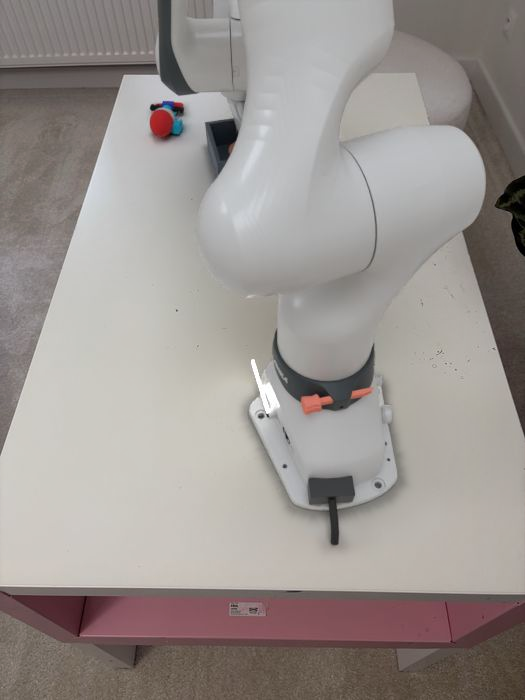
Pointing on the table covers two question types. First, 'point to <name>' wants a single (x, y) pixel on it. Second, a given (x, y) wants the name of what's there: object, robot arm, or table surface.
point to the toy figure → (166, 118)
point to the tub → (220, 141)
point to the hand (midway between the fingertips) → (246, 149)
